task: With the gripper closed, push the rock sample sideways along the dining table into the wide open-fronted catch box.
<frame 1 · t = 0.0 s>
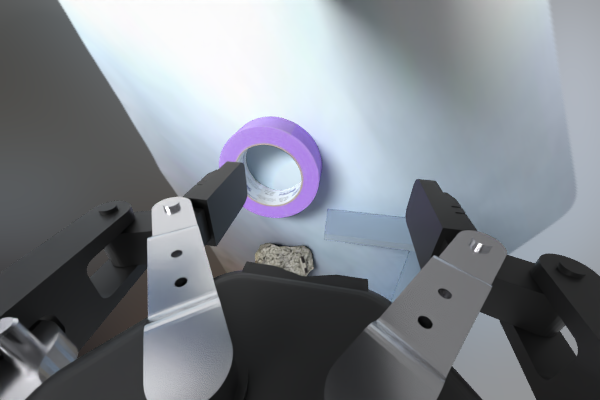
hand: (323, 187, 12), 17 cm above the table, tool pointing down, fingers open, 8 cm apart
rock sample: (287, 253, 40), on the table
catch box: (365, 266, 39), on the table
masking tape: (276, 162, 32), on the table
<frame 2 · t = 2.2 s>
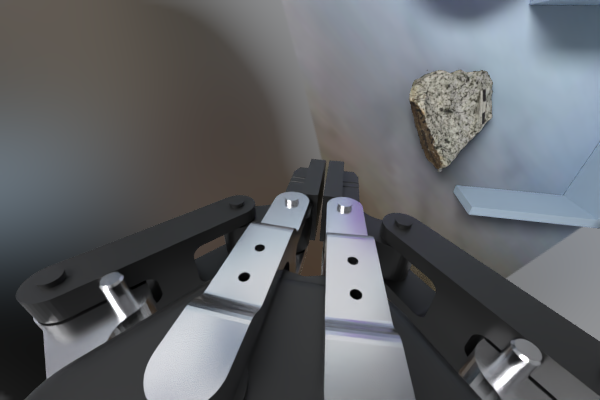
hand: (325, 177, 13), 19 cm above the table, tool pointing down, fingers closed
rock sample: (443, 104, 27), on the table
catch box: (554, 115, 26), on the table
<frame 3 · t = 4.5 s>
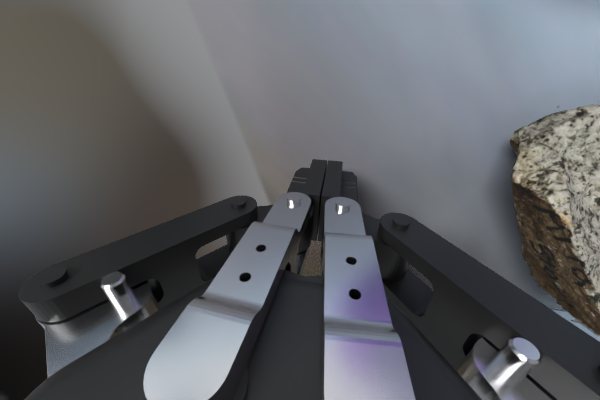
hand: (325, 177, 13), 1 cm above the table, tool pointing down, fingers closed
rock sample: (570, 168, 12), on the table
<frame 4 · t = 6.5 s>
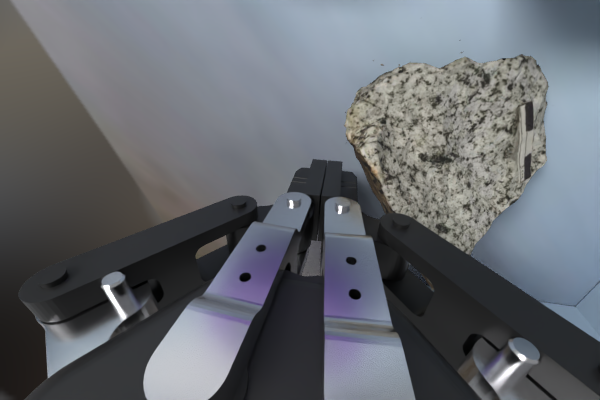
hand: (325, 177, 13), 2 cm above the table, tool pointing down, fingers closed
rock sample: (432, 134, 13), on the table
catch box: (558, 178, 13), on the table
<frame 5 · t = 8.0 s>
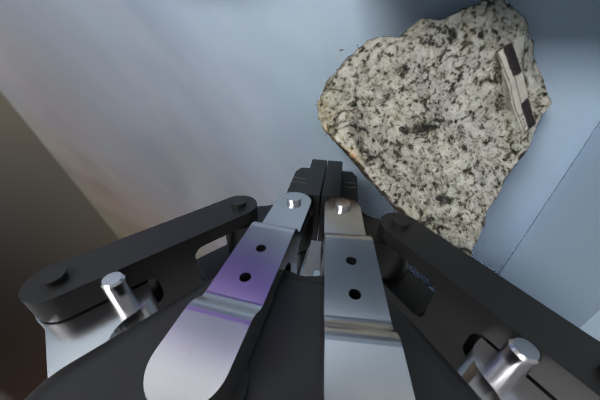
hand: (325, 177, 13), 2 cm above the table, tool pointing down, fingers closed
rock sample: (419, 105, 12), on the table
catch box: (444, 170, 13), on the table
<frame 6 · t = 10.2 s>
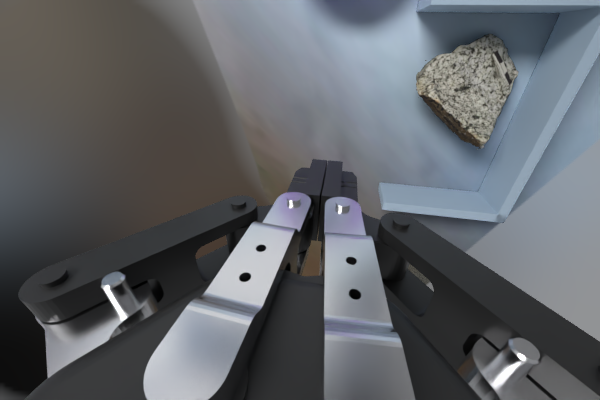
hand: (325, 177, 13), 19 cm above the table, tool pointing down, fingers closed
rock sample: (457, 81, 26), on the table
catch box: (456, 115, 27), on the table
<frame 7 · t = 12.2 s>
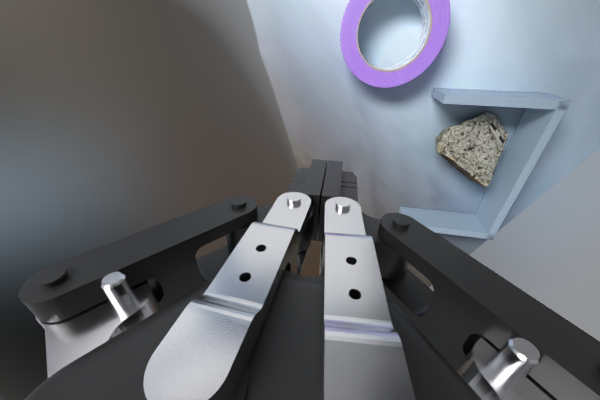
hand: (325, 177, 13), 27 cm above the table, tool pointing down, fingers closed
rock sample: (465, 139, 36), on the table
catch box: (458, 161, 38), on the table
masking tape: (388, 32, 31), on the table
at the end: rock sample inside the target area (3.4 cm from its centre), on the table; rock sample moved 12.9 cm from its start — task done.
